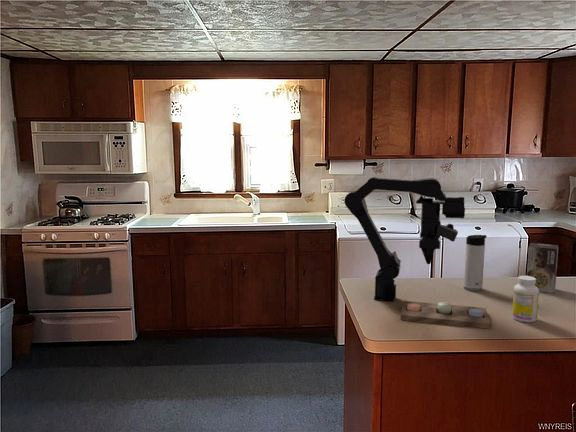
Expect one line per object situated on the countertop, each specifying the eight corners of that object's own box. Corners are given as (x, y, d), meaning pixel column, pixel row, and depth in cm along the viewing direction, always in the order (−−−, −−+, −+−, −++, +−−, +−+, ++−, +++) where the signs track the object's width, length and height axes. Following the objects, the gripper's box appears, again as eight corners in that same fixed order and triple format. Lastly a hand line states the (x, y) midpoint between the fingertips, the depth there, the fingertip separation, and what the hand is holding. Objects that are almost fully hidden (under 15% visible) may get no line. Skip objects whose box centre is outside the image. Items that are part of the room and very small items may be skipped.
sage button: (437, 313, 140) (437, 305, 139) (437, 308, 144) (437, 301, 143) (451, 314, 139) (451, 307, 138) (450, 310, 142) (451, 302, 142)
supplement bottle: (524, 313, 143) (527, 273, 141) (541, 321, 136) (545, 279, 134) (506, 316, 141) (509, 275, 138) (524, 324, 134) (527, 282, 132)
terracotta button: (406, 314, 143) (406, 307, 142) (407, 310, 146) (407, 302, 146) (420, 315, 141) (420, 308, 141) (420, 311, 145) (420, 304, 145)
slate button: (468, 320, 137) (469, 312, 137) (467, 315, 141) (468, 308, 141) (483, 321, 136) (483, 314, 136) (481, 316, 140) (482, 309, 140)
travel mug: (481, 292, 162) (484, 237, 159) (461, 289, 166) (464, 235, 162) (484, 288, 167) (487, 234, 164) (465, 285, 171) (468, 232, 168)
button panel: (400, 319, 139) (401, 315, 138) (403, 305, 151) (403, 300, 151) (490, 328, 132) (491, 323, 131) (485, 312, 144) (485, 307, 144)
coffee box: (555, 288, 166) (559, 245, 163) (554, 293, 160) (558, 248, 158) (527, 284, 171) (530, 242, 168) (525, 289, 165) (528, 245, 163)
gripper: (458, 223, 138) (456, 273, 141) (455, 213, 156) (453, 258, 158) (419, 221, 141) (418, 270, 144) (421, 212, 159) (419, 256, 162)
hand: (428, 263), depth 152 cm, fingers closed
